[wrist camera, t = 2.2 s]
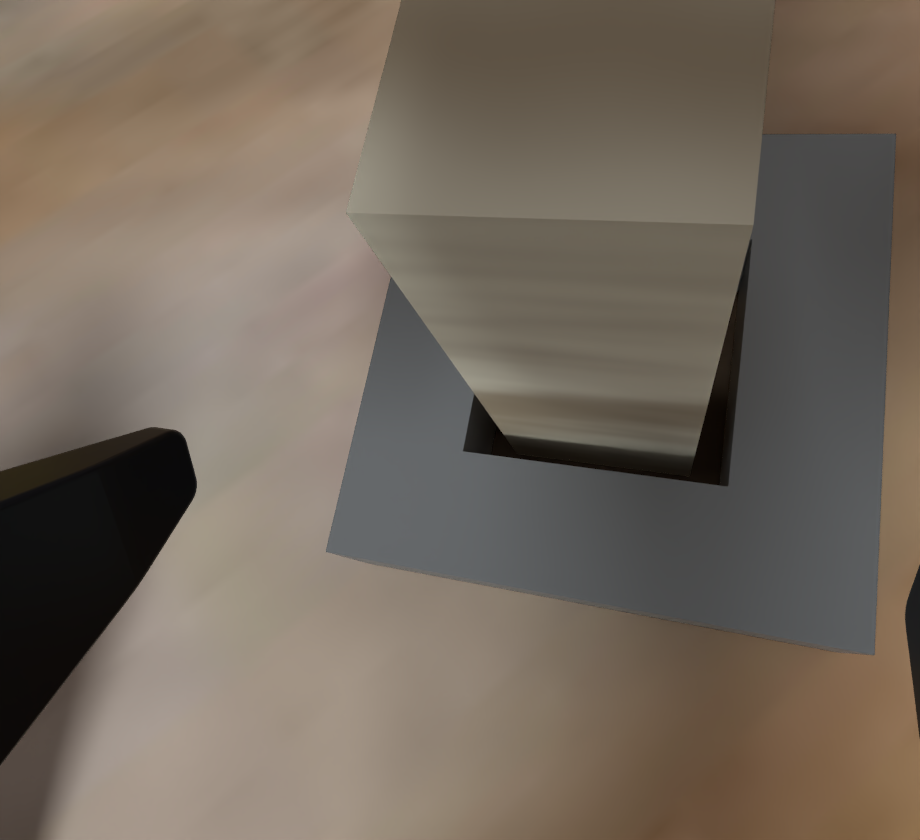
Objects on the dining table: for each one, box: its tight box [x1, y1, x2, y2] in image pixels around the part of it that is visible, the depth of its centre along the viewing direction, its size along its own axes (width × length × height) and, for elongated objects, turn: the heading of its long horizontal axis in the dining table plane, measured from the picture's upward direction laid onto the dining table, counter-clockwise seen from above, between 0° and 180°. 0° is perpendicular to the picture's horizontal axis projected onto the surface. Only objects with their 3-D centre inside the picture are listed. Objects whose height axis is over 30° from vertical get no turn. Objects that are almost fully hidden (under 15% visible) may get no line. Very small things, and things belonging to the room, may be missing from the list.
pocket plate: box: [326, 134, 896, 655], centre depth 20 cm, size 13×13×3 cm
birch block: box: [346, 0, 775, 477], centre depth 15 cm, size 5×5×13 cm
